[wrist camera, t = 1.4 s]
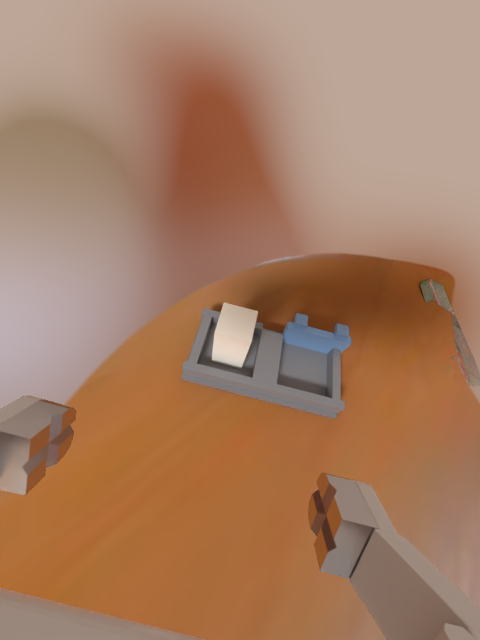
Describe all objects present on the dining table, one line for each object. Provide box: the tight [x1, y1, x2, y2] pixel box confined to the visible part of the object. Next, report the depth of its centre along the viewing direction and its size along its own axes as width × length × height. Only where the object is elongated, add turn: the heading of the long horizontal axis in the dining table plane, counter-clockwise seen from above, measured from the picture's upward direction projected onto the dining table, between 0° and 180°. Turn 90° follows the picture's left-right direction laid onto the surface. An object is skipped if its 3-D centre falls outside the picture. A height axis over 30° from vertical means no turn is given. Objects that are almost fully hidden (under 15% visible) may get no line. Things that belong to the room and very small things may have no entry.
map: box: [421, 279, 480, 387], centre depth 43 cm, size 5×20×1 cm, turn 177°
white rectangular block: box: [211, 303, 258, 369], centre depth 31 cm, size 4×4×8 cm
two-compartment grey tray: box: [182, 308, 351, 419], centre depth 33 cm, size 20×11×6 cm, turn 78°
